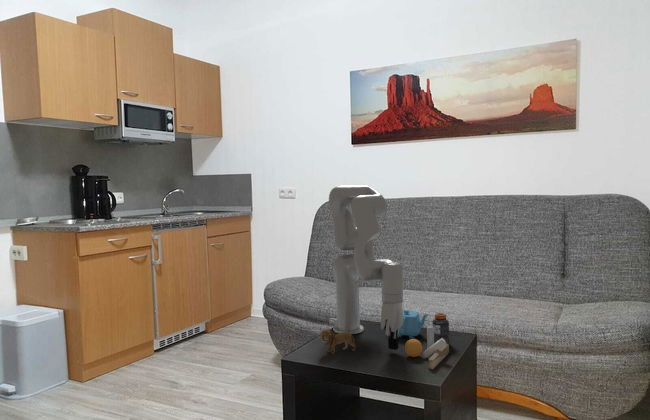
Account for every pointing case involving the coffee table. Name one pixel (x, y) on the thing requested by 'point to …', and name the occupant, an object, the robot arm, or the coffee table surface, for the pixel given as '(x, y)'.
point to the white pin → (434, 348)
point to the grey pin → (430, 336)
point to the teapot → (411, 324)
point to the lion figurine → (336, 339)
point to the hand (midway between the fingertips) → (393, 348)
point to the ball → (413, 347)
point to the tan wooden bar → (438, 356)
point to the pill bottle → (441, 327)
